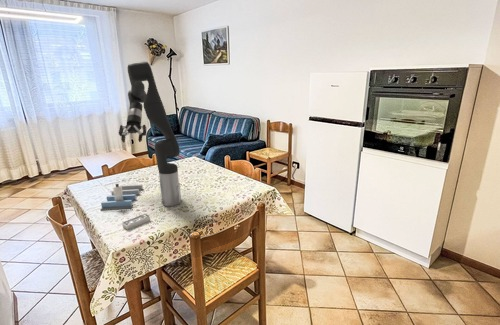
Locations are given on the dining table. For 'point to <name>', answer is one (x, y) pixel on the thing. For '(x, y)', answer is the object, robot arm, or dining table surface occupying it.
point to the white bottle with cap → (118, 192)
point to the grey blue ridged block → (128, 198)
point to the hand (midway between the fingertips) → (131, 141)
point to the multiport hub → (136, 221)
